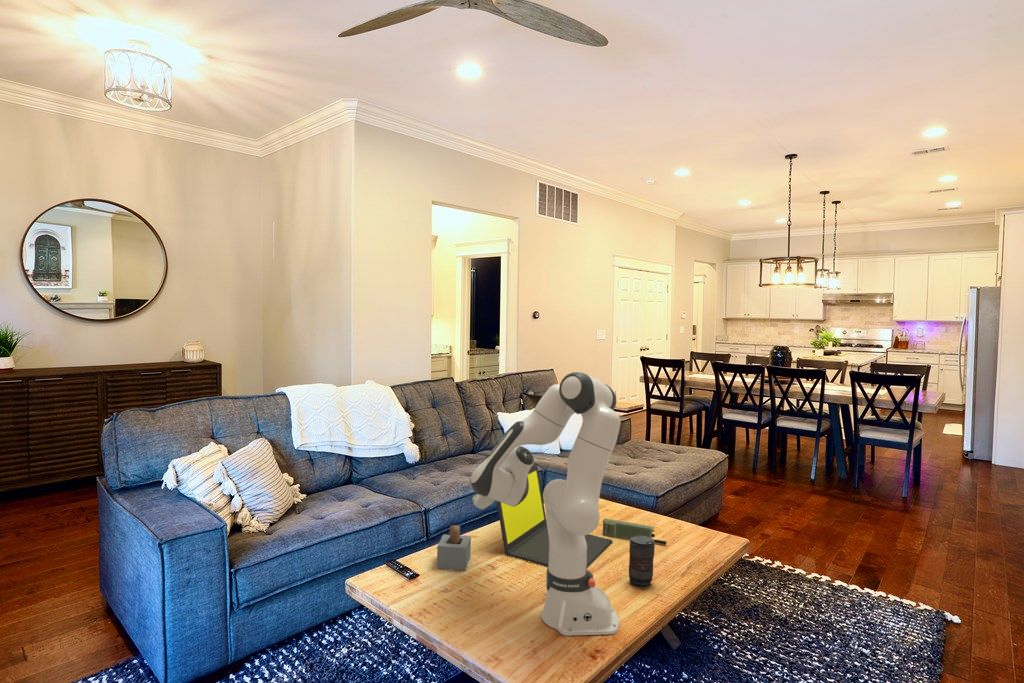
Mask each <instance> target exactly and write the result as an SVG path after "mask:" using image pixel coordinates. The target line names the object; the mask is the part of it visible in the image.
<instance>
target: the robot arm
mask: <svg viewBox="0 0 1024 683" xmlns="http://www.w3.org/2000/svg"><path fill="white" fill-rule="evenodd" d="M616 407H617V395H616V394H615V392H614V390H613V388H611V387H610V386H609V385H608V384H605V383H603V381H600V380H599V379H598V378H596V377H593V376H591V375H589V374H587V373H584V372H577V371H575V372H574V371H573V372H570V373H568V374H566V375H565V376H564V377H563V378H562V380H561V381H560V383H556V384H555V383H554V384H552V385H551V386H550V387H548V389H547V390H546V391H545V392H544V394H543V396H542V397H541V398H540V399H539V401H538V402H537V404H536V405H535V407H534V409H533V410H532V412H531V413H530V414H529V415H528V416H527V417H525V418H524V419H523V420H520V421H519V420H518V421H515V423H513V424H512V425H511V426H510V427H509V428H508V430H506V432H505V433H504V434H503V435H502V437H501V438H500V440H498V442H497V443H496V444H495V446H494V447H493V448H492V449H491V451H490V452H488V454H487V456H486V457H485V458H484V459H483V460H482V461H481V462H480V463H478V465H476V467H475V468H474V469H473V471H472V472H471V475H470V478H469V484H470V485H471V488H472V490H473V492H474V495H473V497H472V499H471V501H472V502H473V506H475V507H476V508H478V509H479V510H485V509H486V508H488V507H489V506H491V505H492V504H493V503H494V502H495V501H496V502H497V501H499V502H502V503H504V504H507V505H509V506H512V507H514V506H517V505H518V504H520V503H521V502H522V501H523V500H524V499H525V498H526V496H527V494H528V491H529V481H528V472H529V470H530V468H531V467H532V465H533V464H535V463H534V461H535V458H534V455H533V454H532V452H531V451H530V450H529V449H528V448H526V447H524V445H536V446H544V445H549V444H552V443H554V442H556V441H557V439H559V437H560V436H561V434H562V433H563V431H564V429H565V428H566V426H567V424H568V422H569V420H570V418H571V417H572V416H573V415H574V414H577V415H581V417H582V423H581V426H580V429H579V431H578V433H577V436H576V438H575V441H574V443H573V446H572V448H571V450H570V453H569V456H568V457H567V463H566V465H567V471H566V473H567V474H566V479H562V478H556V479H555V478H554V479H552V480H550V481H549V482H548V483H547V484H546V485H545V487H544V489H543V492H542V497H543V503H544V509H545V515H546V521H547V529H548V536H549V567H546V573H545V588H546V594H545V599H544V605H543V608H542V610H541V613H540V614H541V615H540V617H541V619H542V621H543V622H544V623H545V624H546V625H547V626H549V627H550V628H552V629H555V630H557V631H558V633H559V634H561V635H562V636H571V637H572V636H594V635H595V636H597V635H598V636H601V635H615V634H616V633H617V632H618V631H619V628H620V620H619V615H618V613H617V611H616V610H615V608H613V607H612V604H611V601H610V599H609V596H608V595H607V594H606V592H604V590H602V589H600V588H599V587H598V586H597V585H596V580H595V579H594V574H593V572H592V571H591V569H589V570H588V569H586V566H587V543H586V540H585V536H584V535H588V534H590V535H591V533H593V532H594V531H595V530H596V529H597V527H598V526H599V523H600V520H601V518H600V516H601V514H600V510H599V505H600V504H599V502H600V495H601V488H602V483H603V479H604V476H605V471H606V470H607V467H608V464H609V462H610V459H611V456H612V453H614V452H613V451H614V449H615V446H616V444H617V440H618V436H619V432H620V428H621V427H620V426H621V418H620V416H619V414H618V413H617V412H616V411H615V408H616Z"/></svg>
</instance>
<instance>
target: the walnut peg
mask: <svg viewBox="0 0 1024 683" xmlns="http://www.w3.org/2000/svg"><path fill="white" fill-rule="evenodd" d="M460 531H461V526H460V525H456V524H452V525H451V526H449V535H450V544H460V536H461V532H460Z"/></svg>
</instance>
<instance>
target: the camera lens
mask: <svg viewBox="0 0 1024 683" xmlns="http://www.w3.org/2000/svg"><path fill="white" fill-rule="evenodd" d="M653 539H654V538H653V537H652V538H650V537H647V536H640V535H638V536H633V537H631V540H629V552H628V553H629V561H628V562H629V563H628V564H629V565H628V578H629V583H630V584H631V586H633V587H635V588H638V589H646V588H647V589H648V588H649V587H651V585H652V584H651V583H652V582H653V577H654V557H655V548H656V547H655V546H656V543H655V542H654V540H655V539H654V540H653Z"/></svg>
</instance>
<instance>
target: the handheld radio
mask: <svg viewBox="0 0 1024 683" xmlns="http://www.w3.org/2000/svg"><path fill="white" fill-rule="evenodd" d="M655 528H656V527H655V526H651V525H646V524H641V523H640V524H639V523H634V522H628V521H623V520H616V519H611V518H610V519H609V518H603V520H602V536H606V537H610V538H616V539H622V540H626V541H630V540H631V537H633V536H638V535H640V536H647V537H650V538H652V539H653V540H654V544H660V545H667V541H665V540H660V539H654V538H656V537H655V536H656V535H655V534H654V532H656V530H655Z"/></svg>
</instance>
